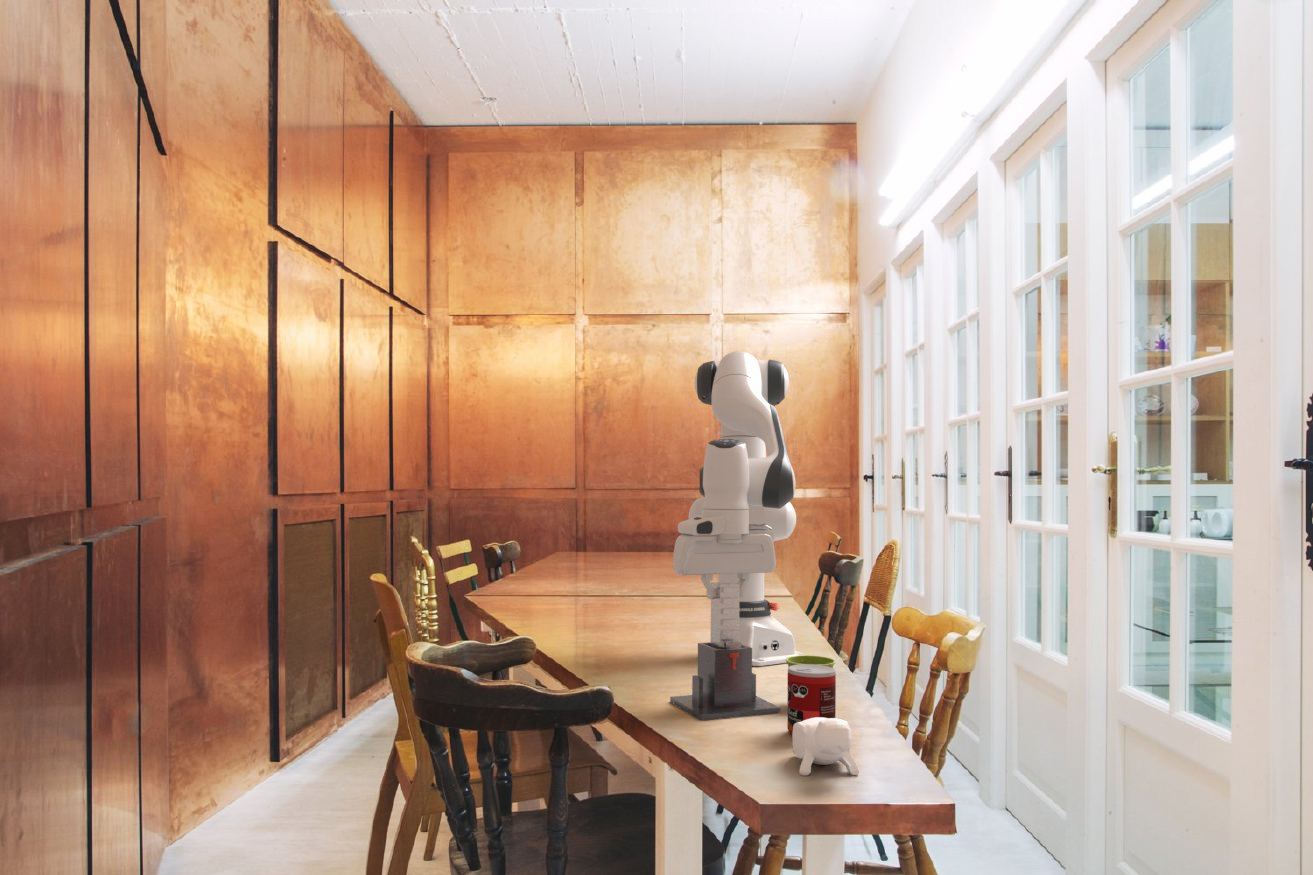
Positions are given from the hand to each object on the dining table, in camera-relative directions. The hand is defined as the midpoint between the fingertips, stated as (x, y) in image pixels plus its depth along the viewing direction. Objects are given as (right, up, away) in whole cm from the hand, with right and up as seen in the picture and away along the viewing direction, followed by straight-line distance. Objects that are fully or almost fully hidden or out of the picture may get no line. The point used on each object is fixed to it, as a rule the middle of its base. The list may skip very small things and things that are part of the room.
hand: (724, 597), depth 168 cm
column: (0, -17, -1) cm, 17 cm away
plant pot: (+16, -21, +1) cm, 26 cm away
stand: (0, -20, -1) cm, 20 cm away
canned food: (+13, -20, -18) cm, 30 cm away
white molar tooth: (+12, -19, -36) cm, 43 cm away
